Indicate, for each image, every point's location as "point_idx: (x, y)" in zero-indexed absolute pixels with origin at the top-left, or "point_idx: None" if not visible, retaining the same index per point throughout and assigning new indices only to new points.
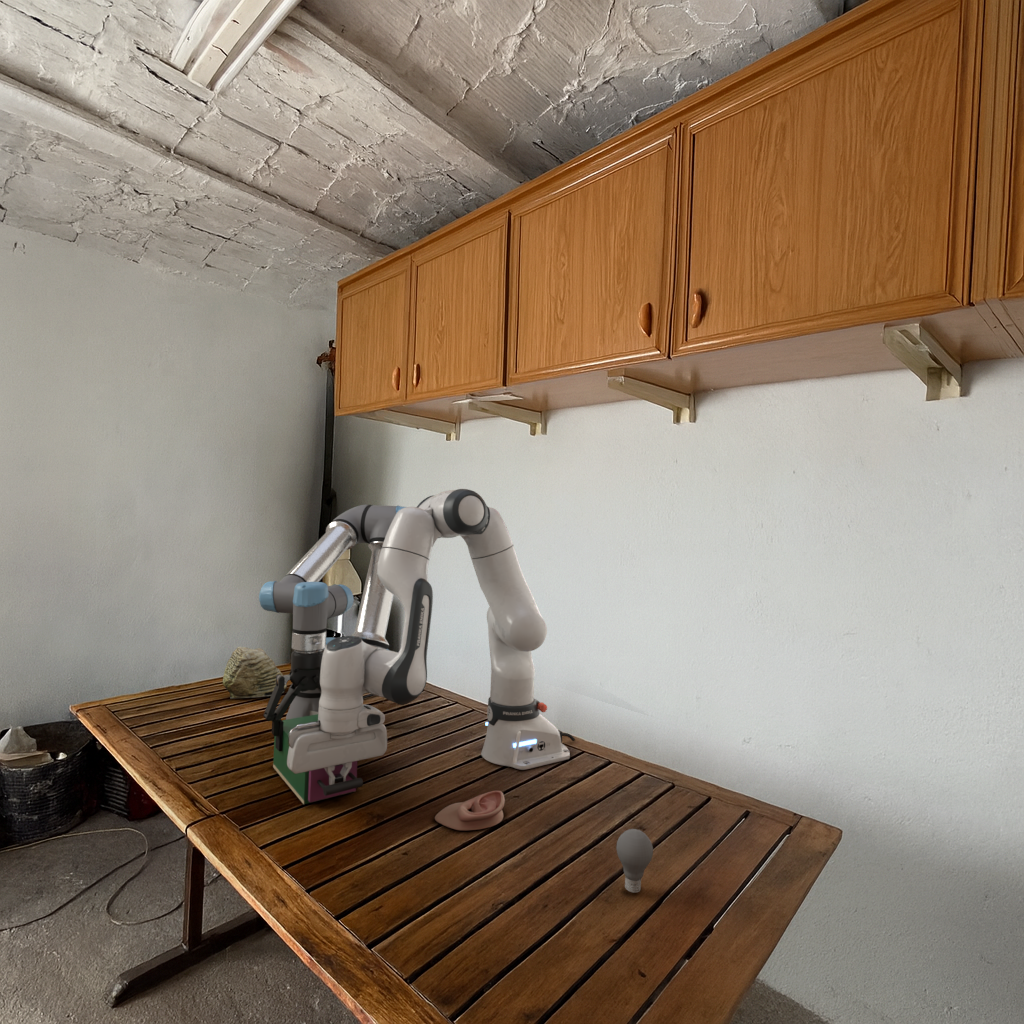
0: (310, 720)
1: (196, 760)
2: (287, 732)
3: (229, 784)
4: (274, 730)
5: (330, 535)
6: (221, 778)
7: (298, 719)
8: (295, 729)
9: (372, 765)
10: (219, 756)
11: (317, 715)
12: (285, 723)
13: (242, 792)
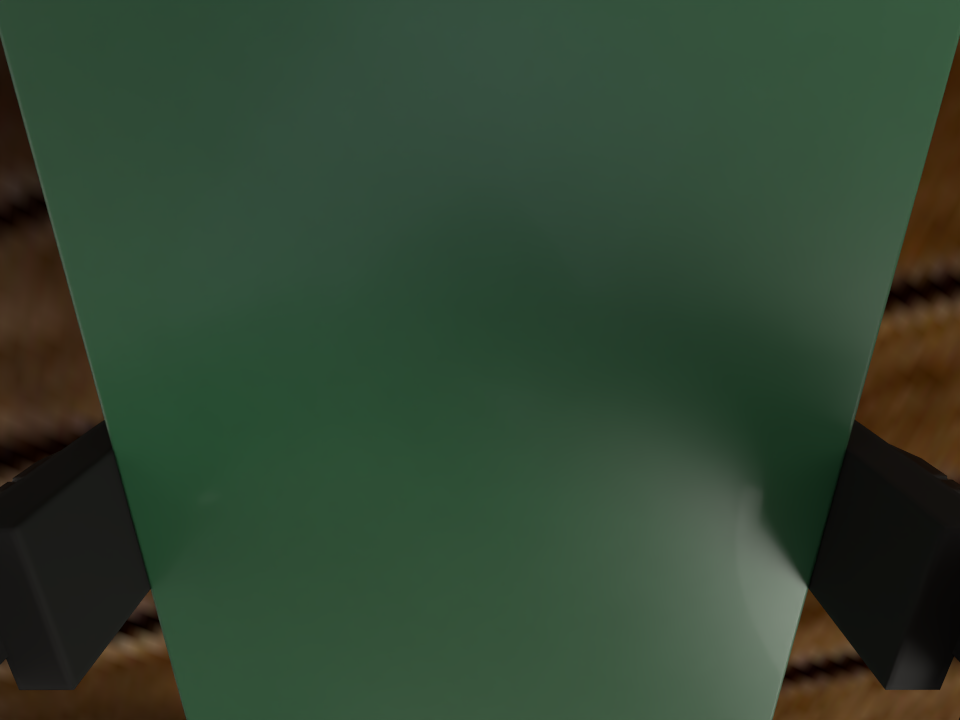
0: (386, 598)
1: (897, 692)
2: (855, 331)
3: (931, 353)
4: (953, 484)
5: None
6: (920, 450)
7: (510, 683)
8: (700, 387)
9: (15, 146)
10: (791, 688)
11: (256, 700)
12: (701, 637)
13: (936, 199)
